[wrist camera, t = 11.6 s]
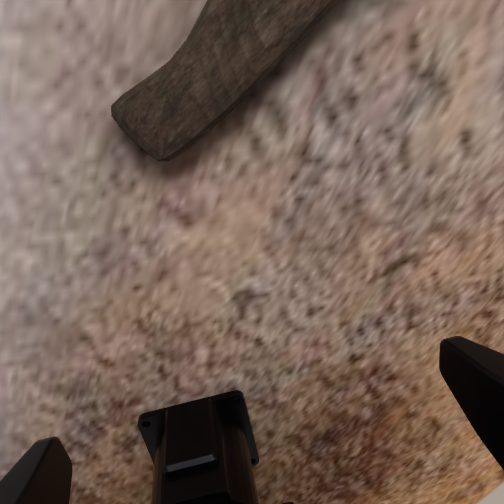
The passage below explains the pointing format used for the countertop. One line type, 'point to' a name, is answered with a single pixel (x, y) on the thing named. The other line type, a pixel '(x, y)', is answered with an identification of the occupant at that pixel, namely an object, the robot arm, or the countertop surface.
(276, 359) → the countertop surface
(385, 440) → the countertop surface
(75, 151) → the countertop surface
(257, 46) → the cleaver
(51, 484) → the robot arm
